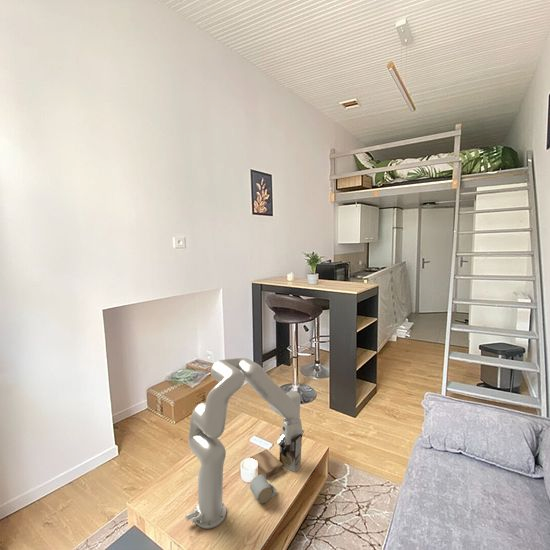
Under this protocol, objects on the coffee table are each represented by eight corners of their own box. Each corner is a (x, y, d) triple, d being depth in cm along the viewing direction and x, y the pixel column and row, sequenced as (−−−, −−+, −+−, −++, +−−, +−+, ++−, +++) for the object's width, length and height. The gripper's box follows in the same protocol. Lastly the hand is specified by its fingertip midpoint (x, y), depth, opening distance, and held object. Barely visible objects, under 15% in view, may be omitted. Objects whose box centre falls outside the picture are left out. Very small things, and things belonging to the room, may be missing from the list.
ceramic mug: (257, 508, 126) (258, 490, 126) (249, 493, 133) (249, 477, 133) (279, 498, 132) (280, 481, 131) (270, 485, 139) (271, 469, 138)
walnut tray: (266, 479, 142) (266, 472, 141) (250, 462, 152) (250, 457, 151) (282, 469, 148) (282, 463, 148) (266, 454, 158) (266, 449, 158)
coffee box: (301, 464, 152) (302, 434, 150) (294, 472, 146) (296, 440, 145) (285, 457, 157) (286, 427, 155) (278, 464, 151) (279, 433, 150)
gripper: (283, 427, 141) (281, 463, 142) (310, 415, 151) (308, 448, 153) (272, 420, 146) (271, 454, 148) (299, 408, 157) (298, 441, 159)
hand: (290, 451), depth 151 cm, fingers closed on coffee box, 7 cm apart
